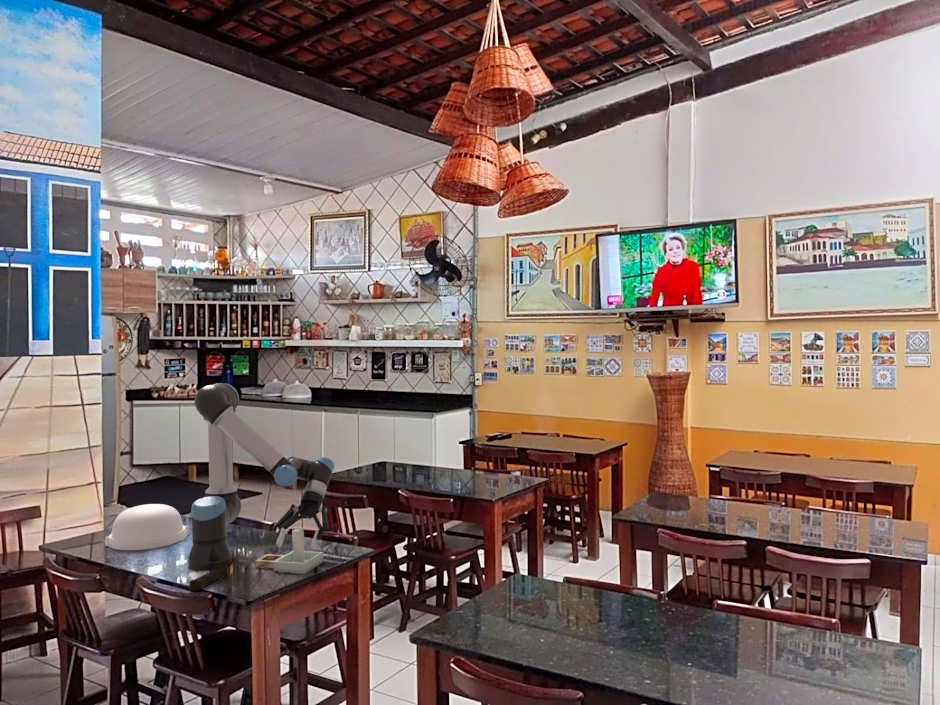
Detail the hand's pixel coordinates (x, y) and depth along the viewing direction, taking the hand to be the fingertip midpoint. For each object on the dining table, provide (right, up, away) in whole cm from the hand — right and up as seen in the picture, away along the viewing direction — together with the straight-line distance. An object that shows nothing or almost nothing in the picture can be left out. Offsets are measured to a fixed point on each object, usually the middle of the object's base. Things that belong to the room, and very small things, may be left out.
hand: (295, 547), depth 263 cm
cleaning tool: (+1, -7, +2) cm, 7 cm away
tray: (+1, -8, +2) cm, 8 cm away
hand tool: (-26, -9, -12) cm, 30 cm away
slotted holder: (-10, -8, +5) cm, 14 cm away
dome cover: (-71, -9, +44) cm, 84 cm away
